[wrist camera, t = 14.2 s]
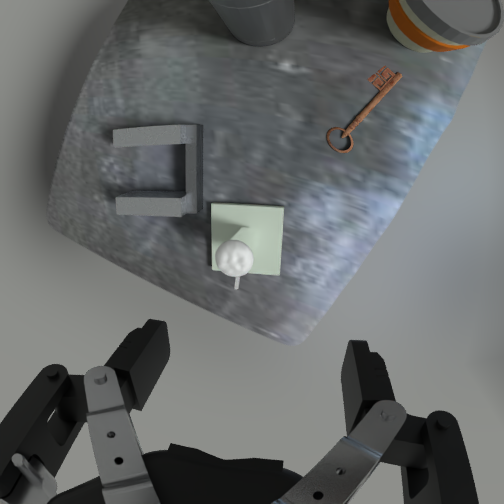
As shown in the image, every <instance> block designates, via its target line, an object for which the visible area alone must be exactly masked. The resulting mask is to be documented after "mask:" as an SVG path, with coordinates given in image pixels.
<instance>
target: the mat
mask: <svg viewBox="0 0 504 504" xmlns="http://www.w3.org/2000/svg"><path fill="white" fill-rule="evenodd" d="M283 215H284V206H271V205H255V204H236V203H216V202H213V203H212V204H211V231H212V270H220V269H219V268H218V267H217V265H216V261H215V253H216V250H217V248H218V247H219V246H220V245H221V244H222V243H223V242H224V241H225V240H227V239H228V237H229V236H230V235H231V234H232V233H233V232H234V231H235V230H236V229H238V228H240V227H242V226H244V227H249V228H251V229H252V230H253V231H254V232H255V235H256V245H255V251H254V261H253V265H252V268H251V269H250V270H249V272H248V273H255V274H267V275H280V263H281V248H282V232H283ZM220 271H221V270H220Z"/></svg>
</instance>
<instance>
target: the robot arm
mask: <svg viewBox="0 0 504 504" xmlns="http://www.w3.org/2000/svg"><path fill="white" fill-rule="evenodd" d="M209 2H210V3H211V4H212V6H213V7H214V9H215V10H216V11H217V13H218V14H219V16H220V17H221V19H222V20H223V21H224V23H225V24H226V26H227V27H228V29H229V30H230V32H231V33H232V34H233V35H234V37H235V38H237V39H238V40H239V41H241V42H243V43H245V44H248V45H252V46H268V45H272V44H275V43H277V42H279V41H281V40H282V39H284V38H285V37H286V36H287V35H288V34H289V33H290V32H291V30H292V28H293V25H294V21H295V17H294V0H209ZM169 356H170V344H169V337H168V330H167V324H166V322H165V321H159V320H153V319H149V320H148V321H147V322H146V323H145V325H144V326H143V327H142V328H137V329H135V330H133V331H132V332H130V333H129V334H128V335H127V336H126V338H125V339H124V341H123V342H122V343H121V344H120V345H119V347H118V348H117V350H116V351H115V352H114V353H113V355H112V356H111V357H110V358H109V360H108V361H107V363H106V364H105V365H104V366H97V367H94V368H92V369H90V370H88V371H87V372H86V374H85V375H69V374H68V371H67V369H66V368H65V367H64V366H63V365H59V364H52V365H49V366H47V367H45V368H43V369H42V370H41V372H40V373H39V374H38V375H37V376H36V378H35V379H34V380H33V381H32V383H31V384H30V385H29V386H28V388H27V389H26V390H25V392H24V393H23V394H22V396H21V397H20V398H19V399H18V401H17V402H16V403H15V404H14V406H13V407H12V409H11V410H10V411H9V412H8V414H7V415H6V417H5V418H4V419H3V421H2V422H1V424H0V504H348V503H349V502H350V501H351V500H352V498H353V497H354V496H355V494H356V493H357V492H358V491H359V489H360V488H361V487H362V486H363V484H364V483H365V482H366V480H367V479H368V478H369V477H370V475H371V474H372V472H373V471H374V470H375V469H376V467H377V466H378V465H379V463H380V462H384V463H388V464H393V465H398V466H401V475H402V485H403V496H404V504H479V502H478V497H477V492H476V488H475V483H474V480H473V475H472V471H471V467H470V463H469V459H468V455H467V452H466V448H465V445H464V441H463V438H462V434H461V431H460V428H459V425H458V422H457V420H456V418H455V417H454V416H453V415H452V414H450V413H448V412H445V411H435V412H432V413H431V414H430V415H429V416H428V417H427V418H422V417H416V416H412V415H409V414H407V413H406V410H405V409H404V407H403V406H402V405H401V404H399V403H397V402H396V400H395V397H394V393H393V390H392V386H391V382H390V379H389V377H388V372H387V370H386V365H385V362H384V360H383V358H382V357H381V356H380V355H379V354H378V353H377V352H370V350H369V347H368V343H367V341H363V340H350V341H349V342H348V346H347V350H346V354H345V358H344V362H343V366H342V371H341V383H342V392H343V401H344V409H345V410H344V411H345V420H346V431H347V437H346V436H344V437H343V438H342V439H340V441H339V442H338V443H337V444H336V445H335V446H334V447H333V448H332V449H331V450H330V451H329V452H328V453H327V454H326V455H325V456H324V458H323V459H322V460H321V461H320V462H319V463H318V464H317V465H316V466H315V467H314V468H312V469H311V470H310V472H308V473H307V474H306V475H305V476H304V477H302V476H301V475H299V474H297V473H295V472H293V471H290V470H288V469H285V468H283V461H282V460H270V459H260V458H248V459H233V460H223V459H220V458H217V457H215V456H213V455H210V454H208V453H205V452H203V451H201V450H198V449H195V448H190V447H185V446H181V445H176V444H172V443H171V444H170V446H169V448H168V450H159V451H153V452H149V453H145V454H144V453H143V451H142V448H141V446H140V443H139V440H138V437H137V435H136V432H135V429H134V426H133V423H132V420H131V417H130V414H129V413H130V411H131V410H132V409H136V410H140V411H142V409H143V407H144V405H145V403H146V401H147V399H148V397H149V396H150V394H151V392H152V390H153V388H154V386H155V384H156V383H157V381H158V379H159V377H160V375H161V373H162V371H163V369H164V368H165V366H166V364H167V362H168V360H169ZM54 409H55V412H54V413H53V415H52V417H51V418H50V420H49V421H48V418H49V417H50V415H51V414H52V412H53V411H54ZM47 421H48V423H47ZM85 422H88V427H89V432H90V437H91V442H92V446H93V451H94V455H95V459H96V463H97V467H98V471H99V475H100V476H98V477H96V478H94V479H92V480H90V481H87V482H85V483H83V484H81V485H78V486H76V487H74V488H72V489H69V490H67V491H64V492H62V493H60V494H58V495H57V493H56V491H57V482H56V480H55V476H56V474H57V472H58V470H59V468H60V467H61V465H62V463H63V461H64V459H65V457H66V455H67V453H68V451H69V450H70V448H71V446H72V444H73V442H74V441H75V439H76V437H77V435H78V433H79V432H80V430H81V428H82V426H83V424H84V423H85Z"/></svg>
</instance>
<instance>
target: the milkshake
mask: <svg viewBox="0 0 504 504" xmlns="http://www.w3.org/2000/svg"><path fill="white" fill-rule="evenodd" d="M255 245H256V235H255V232H254V231H253V230H252V229H251V228H249V227H244V226H242V227H240V228H238V229H236V230H235V231H234V232H233V233H232V234H231V235H230V236H229V237H228V239H227V240H225V241H224V242H223V243H222V244H221V245H220V246H219V247H218V248H217V250H216V253H215V261H216V265H217V267H218V268H219V269H220V270H221V271H222V272H223V273H224V274H226V275H228V276H233V277H236V280H235V289H234V290H238V288H239V278H240V276H242V275H245V274H246V273H248V272H249V270H250V269H251V268H252V265H253V261H254V251H255Z"/></svg>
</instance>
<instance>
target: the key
mask: <svg viewBox="0 0 504 504" xmlns="http://www.w3.org/2000/svg"><path fill="white" fill-rule="evenodd" d="M385 67H386V66H384V67H383V68H381V69H380V70H379V71H377V72H379V73H380V72H381V71H382V70H383V69H384V68H385ZM387 73H389V74H390V75H391V76H392V77H391V78H390V79H389V80H388V81H386V80H387V78H388V77H389V75H388V74H387ZM376 74H377V75H378V76H379V77H380V78H381V79H382V80H383V81H385V82H386V83H385V84H384V85H383V86H382V87H381V88H380V87H379V86H381V85H382V84H383V83H384V82H383V81H382V80H381V79H379V78H377V79H376V80H375V81H374V82H373V83H372V84H373V85H374V86H375V87H376V88H377V89H378V90H380V92H379V93H378V94H377V95H376V96H375V97H374V99H373V100H372V101H371V102H370V103H369V104H368V105H367V106H366V107H365V108H364V109H363V111H362V112H361V113H360V114H359V115H358V116H356V118H355V120H353V121H352V123H351V124H350V125H349V127H348V128H347V129H346V130H344V129H342V128H339V127H334V128H331V129H330V130H329V131H328V133H327V141H328V143H329V145H330V146H331V147H332V148H333V149H334V150H335V151H337V152H340V153H347V152H349V151H350V150H351V149H352V148H353V139H352V137H351V135H350V134H349V133H350V132H351V131H352V130H354V129H355V127H356V126H358V124H359V123H360V122H362V121H363V119H364V118H365V117H366V116H367V114H368V113H369V112H370V111H371V110H372V109H373V108H374V107H375V106H376V105H377V103H378V102H379V101H380V100H381V99H382V98H383V97H384V96H385V95H386V94H387V93H388V91H389V90H390V89H391V88H392V87H393V86H394V85H395V84H396V83H397V82H398V81H399V79H400V78H401V77H402V75H401V74H400V73H399V72H398V73H397V74H396V75H395V74H394V73H393V72H392V71H391V70H390V69H389V68H386V69H385V70H384V71H383V73H382V74H381V75H382V76H383V77H384V78H385V79H386V80H384V79H383V78H382V77H381V76H380V75H379V74H378V73H376ZM375 78H376V75H375V74H374V75H372V76H371V77H370V78H369V79H368V80H369V81H370V82H372V81H373V80H374V79H375ZM377 84H378V85H379V86H377ZM335 129H339V130H342V131H344V132H343V134H342V137H341V138H344V137H346V136H349V137H350V140H351V145H350V148H349V149H348V150H345V151H341V150H338V149H336V148H335V147H334V146H333V145H332V144H331V142H330V140H329V135H330V133H331V131H333V130H335Z"/></svg>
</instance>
